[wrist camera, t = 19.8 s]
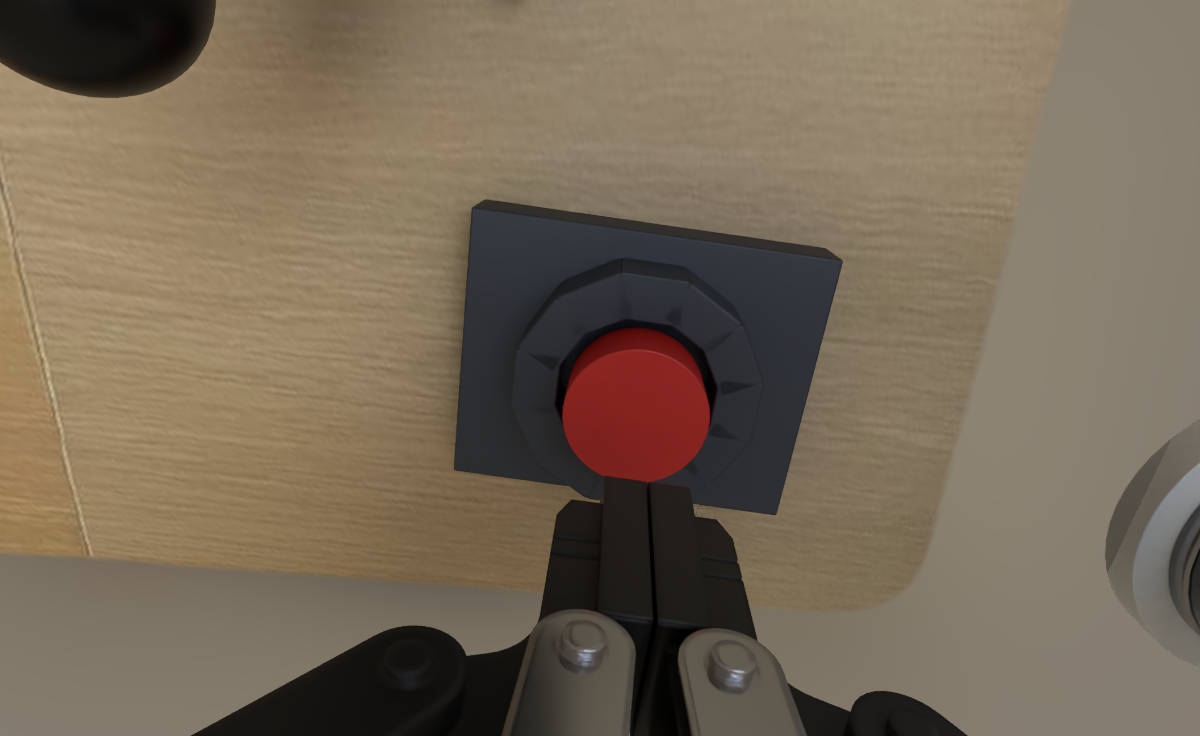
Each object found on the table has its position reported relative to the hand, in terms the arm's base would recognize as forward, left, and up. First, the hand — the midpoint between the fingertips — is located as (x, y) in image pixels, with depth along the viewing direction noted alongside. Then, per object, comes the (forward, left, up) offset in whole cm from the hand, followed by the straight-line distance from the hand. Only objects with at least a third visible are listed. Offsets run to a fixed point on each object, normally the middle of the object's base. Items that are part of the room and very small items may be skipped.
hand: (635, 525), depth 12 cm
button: (0, 0, -7) cm, 7 cm away
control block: (0, 0, -10) cm, 10 cm away
